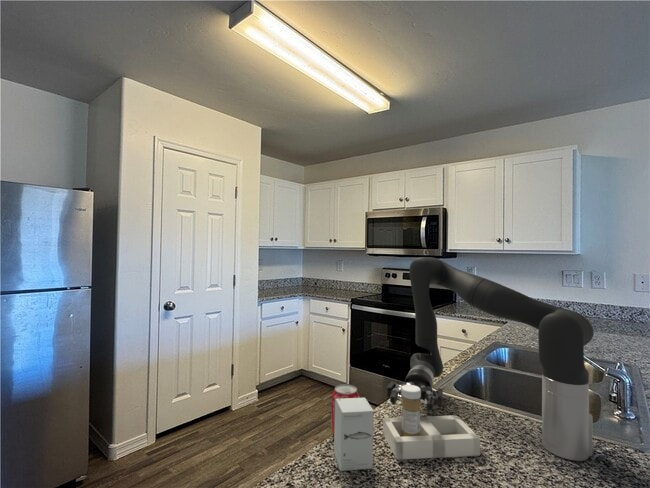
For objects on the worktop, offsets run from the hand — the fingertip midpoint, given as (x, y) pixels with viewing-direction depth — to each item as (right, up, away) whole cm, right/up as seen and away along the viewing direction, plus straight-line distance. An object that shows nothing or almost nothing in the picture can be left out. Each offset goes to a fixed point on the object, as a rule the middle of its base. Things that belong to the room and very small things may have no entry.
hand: (410, 404), depth 84 cm
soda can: (-16, -9, +2) cm, 19 cm away
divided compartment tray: (+4, -10, 0) cm, 11 cm away
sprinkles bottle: (0, -9, -1) cm, 9 cm away
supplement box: (-15, -9, -8) cm, 19 cm away
